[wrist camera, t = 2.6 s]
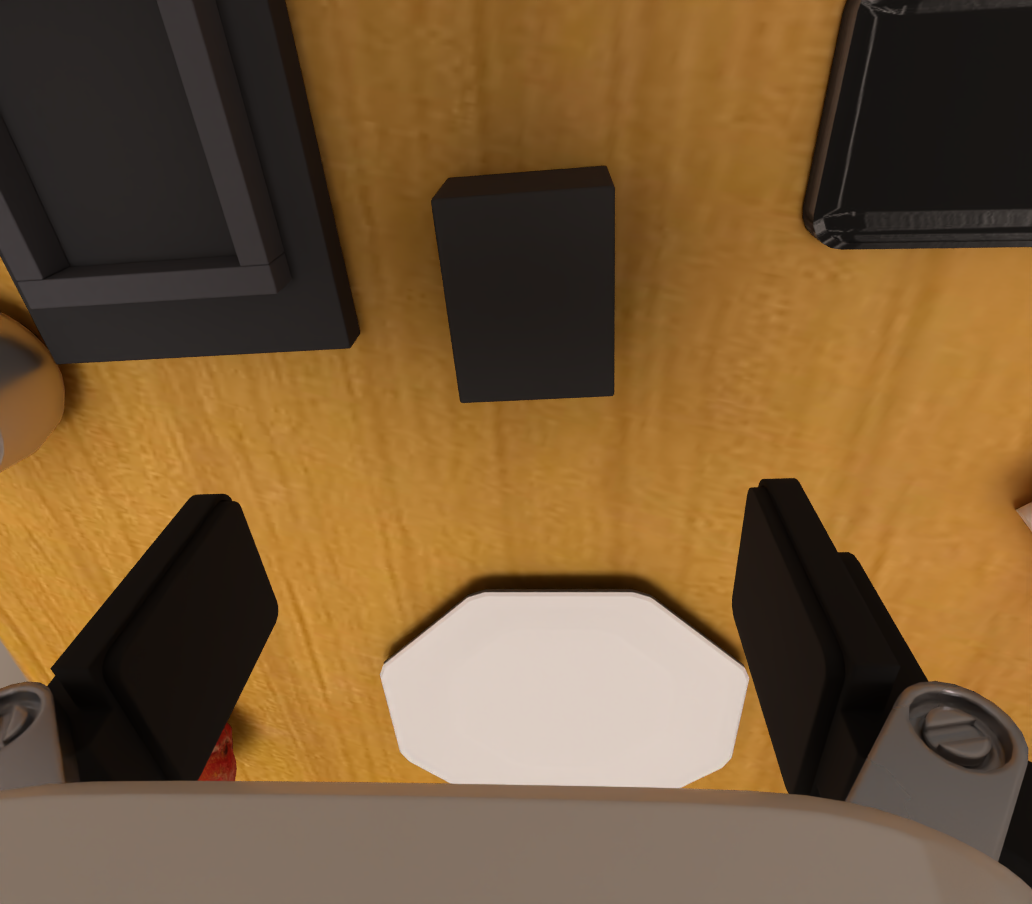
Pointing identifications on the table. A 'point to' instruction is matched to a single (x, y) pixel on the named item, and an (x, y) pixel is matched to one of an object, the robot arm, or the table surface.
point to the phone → (926, 128)
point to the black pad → (529, 282)
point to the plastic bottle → (26, 392)
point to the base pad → (165, 182)
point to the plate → (564, 692)
